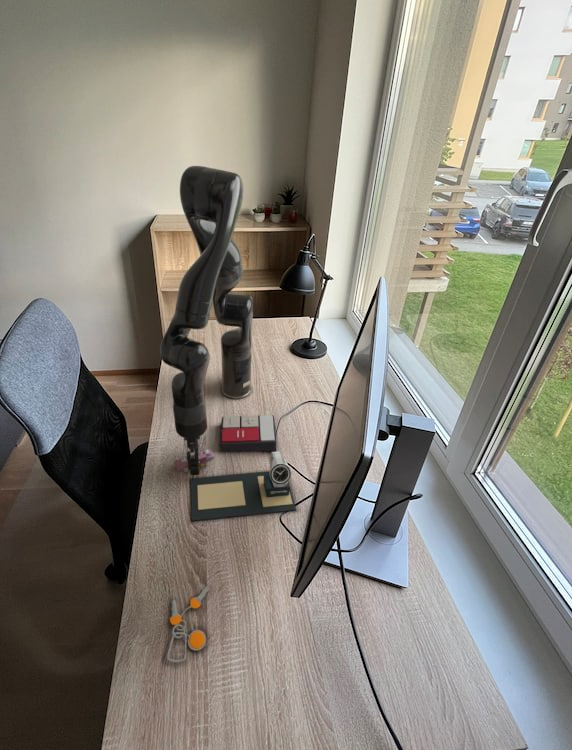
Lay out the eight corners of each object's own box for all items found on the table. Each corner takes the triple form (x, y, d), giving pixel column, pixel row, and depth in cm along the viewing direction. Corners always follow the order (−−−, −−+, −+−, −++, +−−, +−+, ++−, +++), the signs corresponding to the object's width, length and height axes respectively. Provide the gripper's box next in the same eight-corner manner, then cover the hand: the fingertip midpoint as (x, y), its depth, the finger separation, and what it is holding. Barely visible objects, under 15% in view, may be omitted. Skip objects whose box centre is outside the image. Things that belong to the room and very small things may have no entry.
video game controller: (178, 479, 102) (180, 471, 96) (172, 462, 104) (173, 453, 98) (213, 465, 106) (218, 457, 100) (207, 449, 107) (211, 440, 101)
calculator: (221, 414, 115) (273, 412, 114) (222, 425, 117) (273, 423, 117) (219, 441, 106) (276, 439, 105) (220, 453, 108) (276, 451, 108)
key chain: (203, 664, 67) (203, 662, 67) (160, 662, 68) (160, 660, 67) (211, 587, 78) (211, 585, 78) (174, 586, 78) (173, 584, 78)
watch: (267, 504, 93) (269, 472, 87) (262, 477, 100) (263, 445, 94) (291, 502, 94) (295, 470, 88) (284, 475, 101) (287, 444, 94)
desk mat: (191, 479, 100) (191, 477, 100) (285, 470, 103) (285, 469, 102) (191, 521, 90) (191, 519, 90) (296, 510, 93) (296, 508, 92)
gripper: (207, 433, 88) (210, 483, 97) (205, 393, 99) (208, 441, 109) (173, 436, 87) (179, 486, 96) (174, 395, 99) (180, 443, 108)
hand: (194, 462), depth 103 cm, fingers closed on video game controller, 7 cm apart
